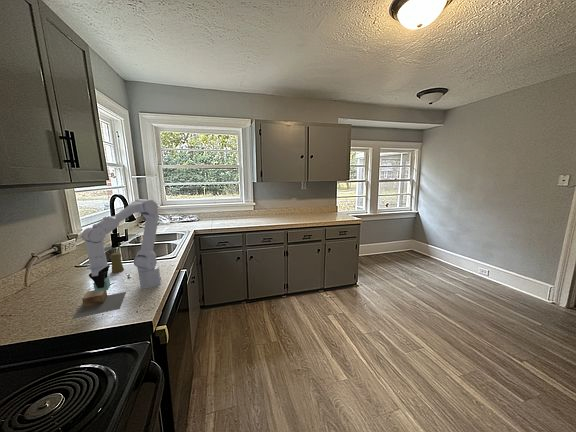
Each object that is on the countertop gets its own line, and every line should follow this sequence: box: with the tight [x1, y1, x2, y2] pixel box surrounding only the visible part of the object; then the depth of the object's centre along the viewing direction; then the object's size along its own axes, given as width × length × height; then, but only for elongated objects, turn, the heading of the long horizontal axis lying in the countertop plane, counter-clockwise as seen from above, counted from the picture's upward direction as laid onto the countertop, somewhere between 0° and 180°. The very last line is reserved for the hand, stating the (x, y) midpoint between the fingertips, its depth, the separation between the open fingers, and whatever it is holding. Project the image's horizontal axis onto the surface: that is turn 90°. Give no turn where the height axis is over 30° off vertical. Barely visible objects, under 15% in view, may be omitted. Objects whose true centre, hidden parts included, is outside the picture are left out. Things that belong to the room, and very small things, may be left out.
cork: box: [109, 252, 125, 274], centre depth 140 cm, size 6×6×11 cm
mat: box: [71, 291, 127, 320], centre depth 106 cm, size 16×16×1 cm
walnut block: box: [81, 289, 108, 307], centre depth 108 cm, size 7×7×4 cm
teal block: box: [92, 276, 111, 292], centre depth 104 cm, size 4×4×4 cm
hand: (102, 285), depth 104 cm, fingers closed on teal block, 4 cm apart
